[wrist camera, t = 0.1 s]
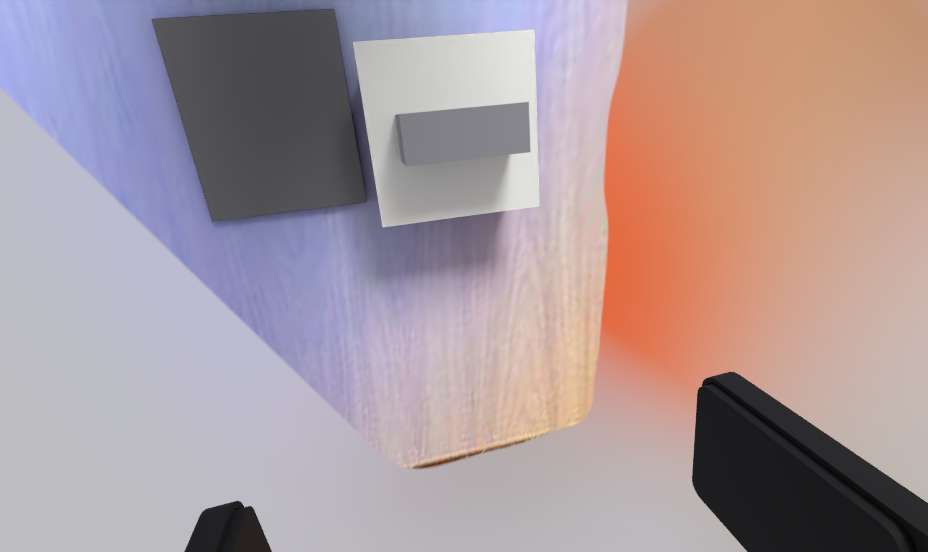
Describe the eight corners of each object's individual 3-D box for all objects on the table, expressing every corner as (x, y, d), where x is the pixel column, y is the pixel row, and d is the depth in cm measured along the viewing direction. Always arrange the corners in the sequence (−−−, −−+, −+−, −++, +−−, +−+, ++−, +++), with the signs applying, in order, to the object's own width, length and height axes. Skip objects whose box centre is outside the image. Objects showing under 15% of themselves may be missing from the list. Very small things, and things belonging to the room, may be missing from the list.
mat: (154, 20, 30) (151, 18, 29) (333, 10, 32) (333, 8, 31) (214, 220, 35) (212, 221, 34) (366, 201, 37) (366, 202, 36)
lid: (353, 44, 28) (350, 29, 24) (529, 32, 30) (558, 16, 26) (382, 224, 33) (384, 241, 28) (534, 203, 34) (560, 216, 30)
